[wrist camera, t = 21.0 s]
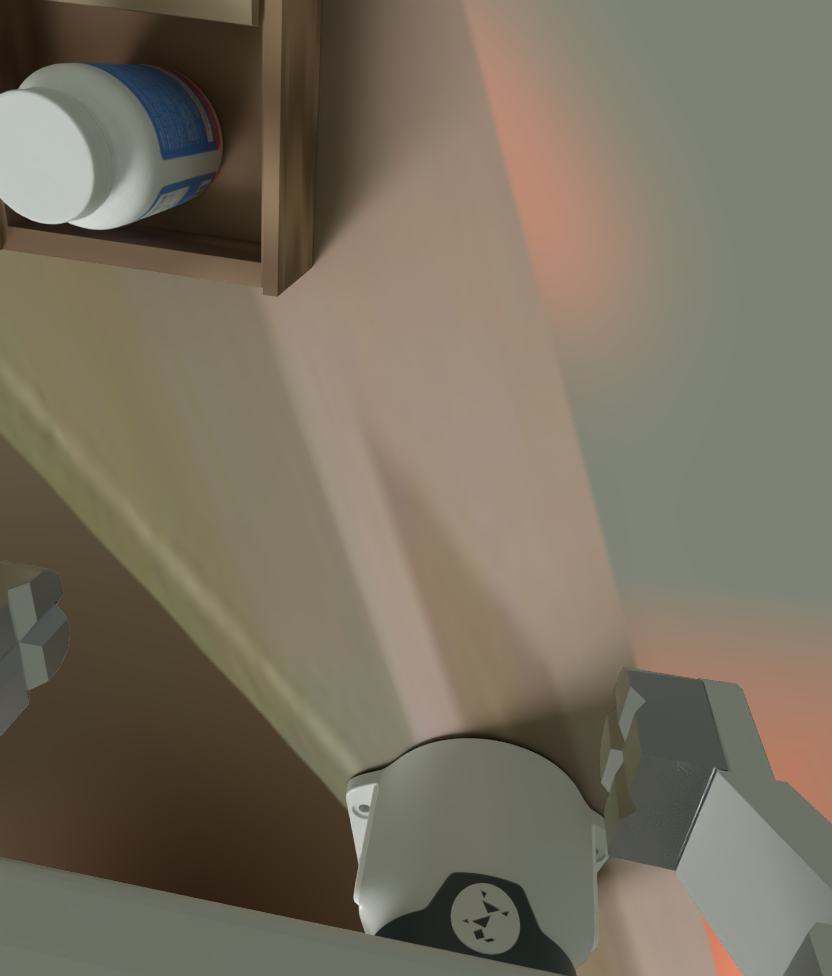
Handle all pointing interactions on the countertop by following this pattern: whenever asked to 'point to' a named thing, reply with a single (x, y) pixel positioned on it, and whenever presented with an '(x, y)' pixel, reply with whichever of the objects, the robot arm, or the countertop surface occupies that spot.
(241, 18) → the lid
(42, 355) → the countertop surface
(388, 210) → the countertop surface
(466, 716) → the countertop surface
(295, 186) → the lid box
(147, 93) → the pill bottle
